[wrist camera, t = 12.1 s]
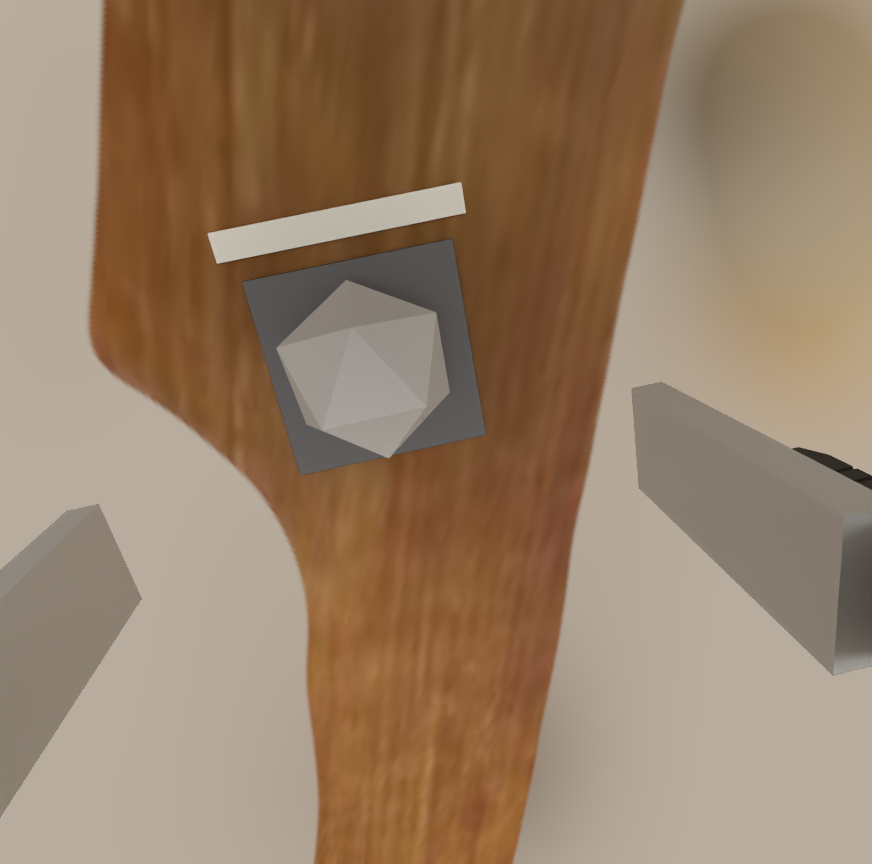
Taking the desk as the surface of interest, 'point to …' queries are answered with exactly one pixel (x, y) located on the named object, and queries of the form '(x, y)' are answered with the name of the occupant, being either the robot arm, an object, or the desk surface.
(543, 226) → the desk surface
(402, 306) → the die
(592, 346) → the desk surface
